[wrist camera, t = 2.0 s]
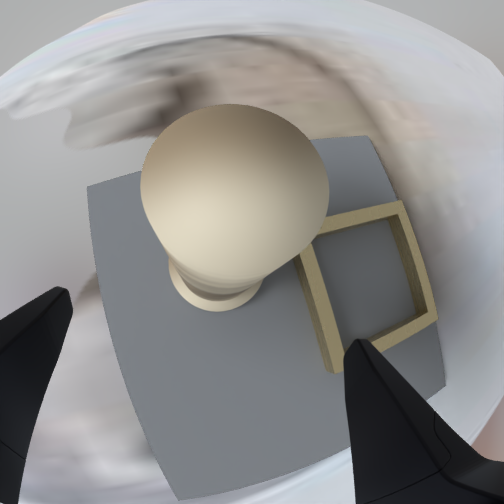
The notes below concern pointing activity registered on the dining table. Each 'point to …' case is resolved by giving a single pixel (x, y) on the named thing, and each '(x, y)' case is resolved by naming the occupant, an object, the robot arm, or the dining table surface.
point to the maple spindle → (232, 200)
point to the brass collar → (413, 270)
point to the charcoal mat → (252, 337)
